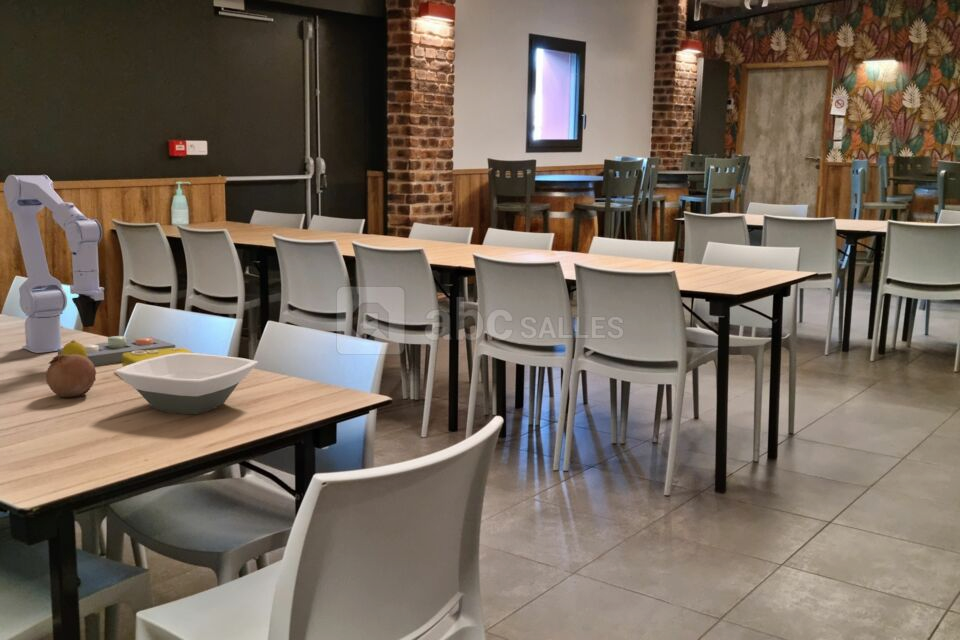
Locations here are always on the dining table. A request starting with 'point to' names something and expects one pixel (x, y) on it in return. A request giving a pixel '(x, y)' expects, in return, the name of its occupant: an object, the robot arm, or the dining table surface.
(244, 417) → the dining table surface
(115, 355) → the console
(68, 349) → the lemon
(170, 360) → the bowl
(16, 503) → the dining table surface
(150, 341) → the button terracotta
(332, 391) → the dining table surface
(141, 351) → the element tile
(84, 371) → the onion
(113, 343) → the button sage
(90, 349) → the button ivory
